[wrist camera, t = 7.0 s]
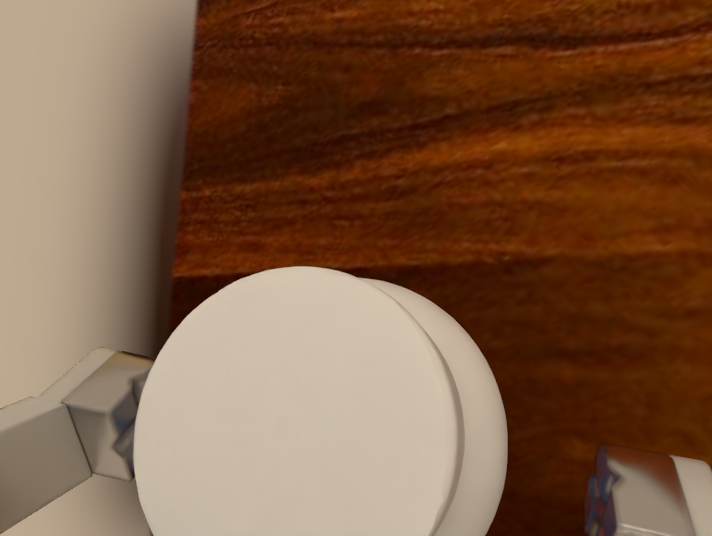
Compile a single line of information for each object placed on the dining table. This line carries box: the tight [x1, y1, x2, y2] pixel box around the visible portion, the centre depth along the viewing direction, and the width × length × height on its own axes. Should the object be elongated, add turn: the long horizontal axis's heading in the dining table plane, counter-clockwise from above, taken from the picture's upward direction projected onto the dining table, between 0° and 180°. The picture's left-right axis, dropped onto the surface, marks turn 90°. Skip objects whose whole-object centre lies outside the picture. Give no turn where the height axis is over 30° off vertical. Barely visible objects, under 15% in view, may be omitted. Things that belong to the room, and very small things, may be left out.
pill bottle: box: [133, 266, 508, 536], centre depth 11 cm, size 6×5×10 cm
